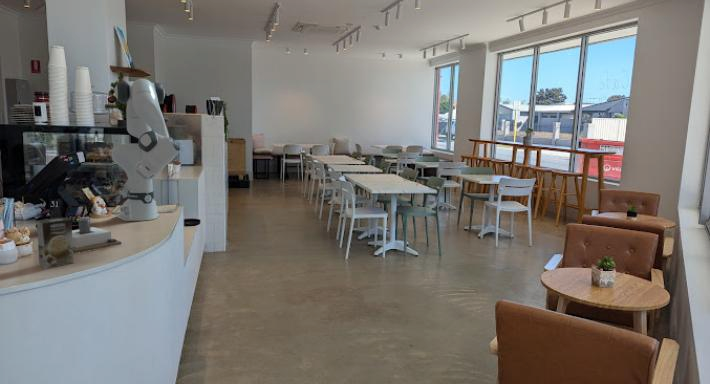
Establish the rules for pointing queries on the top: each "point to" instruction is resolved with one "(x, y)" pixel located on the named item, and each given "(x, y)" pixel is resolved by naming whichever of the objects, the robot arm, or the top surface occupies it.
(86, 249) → the socket board
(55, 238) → the coffee box
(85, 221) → the plug
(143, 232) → the top surface
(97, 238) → the socket housing
